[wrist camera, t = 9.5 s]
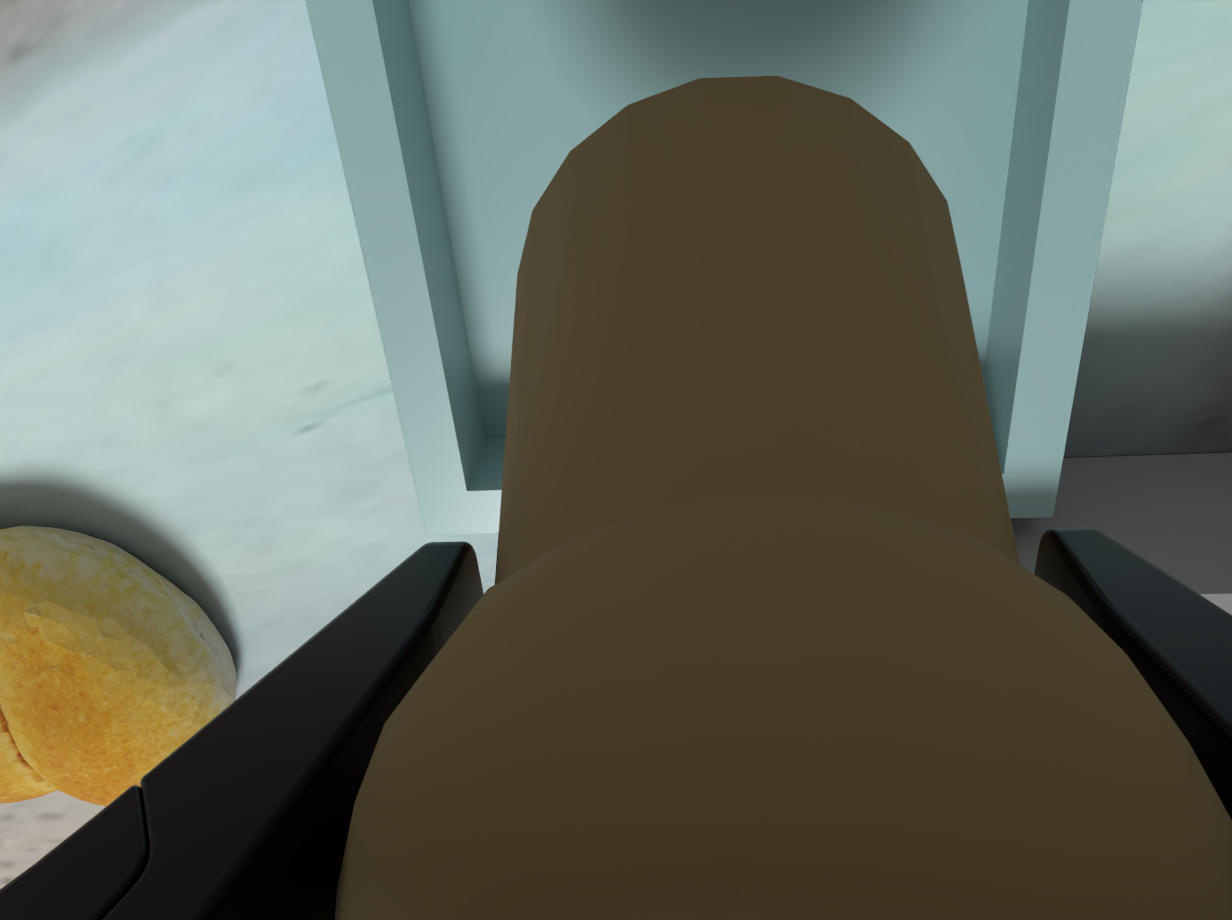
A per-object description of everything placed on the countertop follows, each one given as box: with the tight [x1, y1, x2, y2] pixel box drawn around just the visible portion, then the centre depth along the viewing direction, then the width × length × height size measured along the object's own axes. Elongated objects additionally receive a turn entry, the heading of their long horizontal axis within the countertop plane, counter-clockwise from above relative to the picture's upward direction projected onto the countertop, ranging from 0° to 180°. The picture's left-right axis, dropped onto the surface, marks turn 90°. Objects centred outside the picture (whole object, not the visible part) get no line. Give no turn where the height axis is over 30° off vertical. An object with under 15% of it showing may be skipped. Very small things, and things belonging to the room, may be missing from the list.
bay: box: [1011, 452, 1232, 615], centre depth 22 cm, size 12×11×6 cm
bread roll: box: [0, 526, 236, 806], centre depth 25 cm, size 8×9×4 cm
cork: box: [335, 76, 1232, 920], centre depth 9 cm, size 6×6×11 cm
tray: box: [306, 0, 1143, 535], centre depth 18 cm, size 12×12×3 cm
